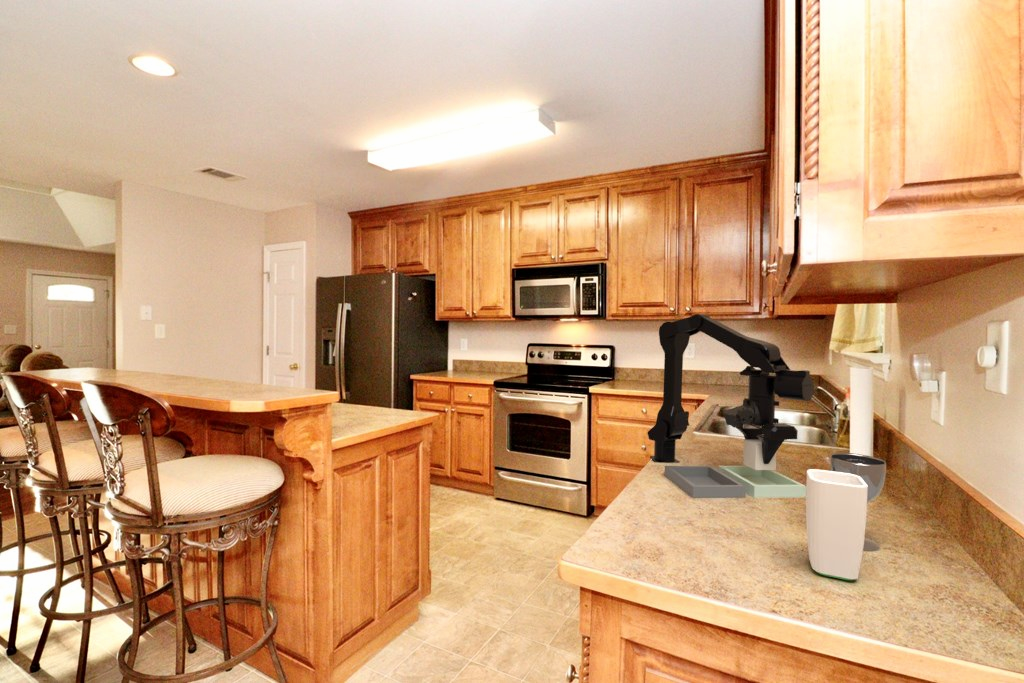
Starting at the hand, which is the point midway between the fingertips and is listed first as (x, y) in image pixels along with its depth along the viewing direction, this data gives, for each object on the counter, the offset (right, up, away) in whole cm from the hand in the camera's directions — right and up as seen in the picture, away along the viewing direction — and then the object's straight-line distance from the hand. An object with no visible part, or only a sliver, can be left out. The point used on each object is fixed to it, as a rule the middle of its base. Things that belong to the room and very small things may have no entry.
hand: (759, 460), depth 114 cm
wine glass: (+2, -8, -29) cm, 30 cm away
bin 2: (0, -7, 0) cm, 7 cm away
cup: (-9, -8, -40) cm, 41 cm away
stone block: (0, -2, 0) cm, 2 cm away
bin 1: (-14, -6, -1) cm, 15 cm away
